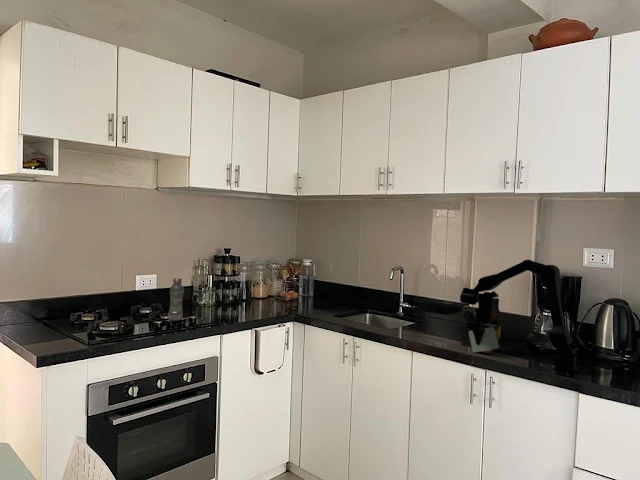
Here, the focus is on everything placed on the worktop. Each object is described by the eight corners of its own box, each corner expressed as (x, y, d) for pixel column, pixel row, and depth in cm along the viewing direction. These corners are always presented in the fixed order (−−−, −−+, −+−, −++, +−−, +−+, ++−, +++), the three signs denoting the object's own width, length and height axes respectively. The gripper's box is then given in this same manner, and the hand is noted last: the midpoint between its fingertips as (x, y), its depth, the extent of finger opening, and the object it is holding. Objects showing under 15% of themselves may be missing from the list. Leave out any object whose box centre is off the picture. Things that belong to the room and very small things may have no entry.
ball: (489, 338, 208) (481, 345, 210) (483, 339, 204) (475, 347, 207) (497, 347, 205) (489, 355, 207) (491, 349, 201) (483, 356, 204)
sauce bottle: (502, 340, 234) (505, 298, 233) (497, 342, 229) (499, 299, 229) (488, 337, 238) (491, 296, 238) (483, 339, 233) (486, 297, 233)
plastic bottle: (166, 319, 235) (168, 278, 235) (181, 319, 239) (183, 278, 238) (169, 322, 230) (171, 279, 229) (183, 321, 233) (186, 279, 232)
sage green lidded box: (499, 347, 206) (494, 326, 208) (489, 350, 200) (484, 328, 202) (482, 350, 211) (477, 329, 213) (472, 352, 206) (467, 331, 208)
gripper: (479, 302, 219) (476, 337, 219) (456, 305, 206) (453, 342, 207) (503, 306, 211) (500, 342, 211) (480, 309, 198) (478, 348, 198)
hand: (482, 343), depth 207 cm, fingers closed on sage green lidded box, 8 cm apart
